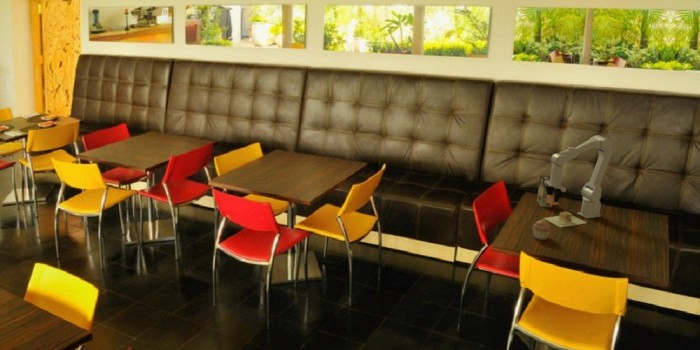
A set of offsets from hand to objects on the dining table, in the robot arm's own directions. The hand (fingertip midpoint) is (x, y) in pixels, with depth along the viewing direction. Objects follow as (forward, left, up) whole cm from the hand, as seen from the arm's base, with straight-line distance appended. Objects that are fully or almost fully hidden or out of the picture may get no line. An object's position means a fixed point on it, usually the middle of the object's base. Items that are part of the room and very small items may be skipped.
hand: (553, 200), depth 319 cm
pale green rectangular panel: (-4, +7, -10) cm, 12 cm away
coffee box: (-11, -18, -10) cm, 23 cm away
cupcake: (+24, +20, -10) cm, 33 cm away
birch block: (-4, +7, -9) cm, 12 cm away
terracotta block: (0, 0, -2) cm, 2 cm away
